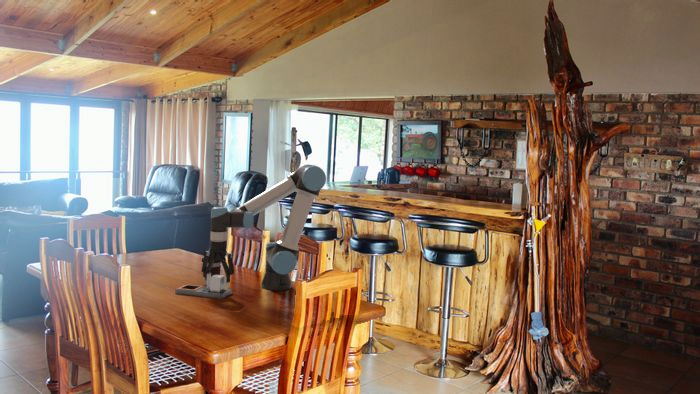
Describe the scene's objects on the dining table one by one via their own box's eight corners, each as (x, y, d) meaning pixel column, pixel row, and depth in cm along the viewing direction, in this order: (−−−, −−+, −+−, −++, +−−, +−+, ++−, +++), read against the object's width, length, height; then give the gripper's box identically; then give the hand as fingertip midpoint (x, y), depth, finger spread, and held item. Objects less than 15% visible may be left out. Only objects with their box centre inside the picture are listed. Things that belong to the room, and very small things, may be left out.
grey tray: (231, 294, 279) (231, 288, 279) (222, 299, 269) (222, 293, 269) (186, 289, 285) (186, 284, 285) (175, 294, 275) (175, 288, 275)
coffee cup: (216, 287, 291) (217, 257, 290) (197, 286, 293) (198, 256, 292) (224, 283, 301) (225, 254, 300) (206, 281, 303) (207, 252, 302)
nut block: (224, 294, 277) (225, 275, 276) (219, 296, 272) (220, 277, 272) (214, 293, 278) (215, 274, 278) (209, 295, 274) (210, 276, 273)
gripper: (242, 240, 274) (241, 288, 276) (201, 237, 279) (200, 284, 281) (235, 243, 267) (234, 292, 269) (194, 239, 272) (193, 287, 274)
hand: (217, 288), depth 275 cm, fingers open, 8 cm apart
